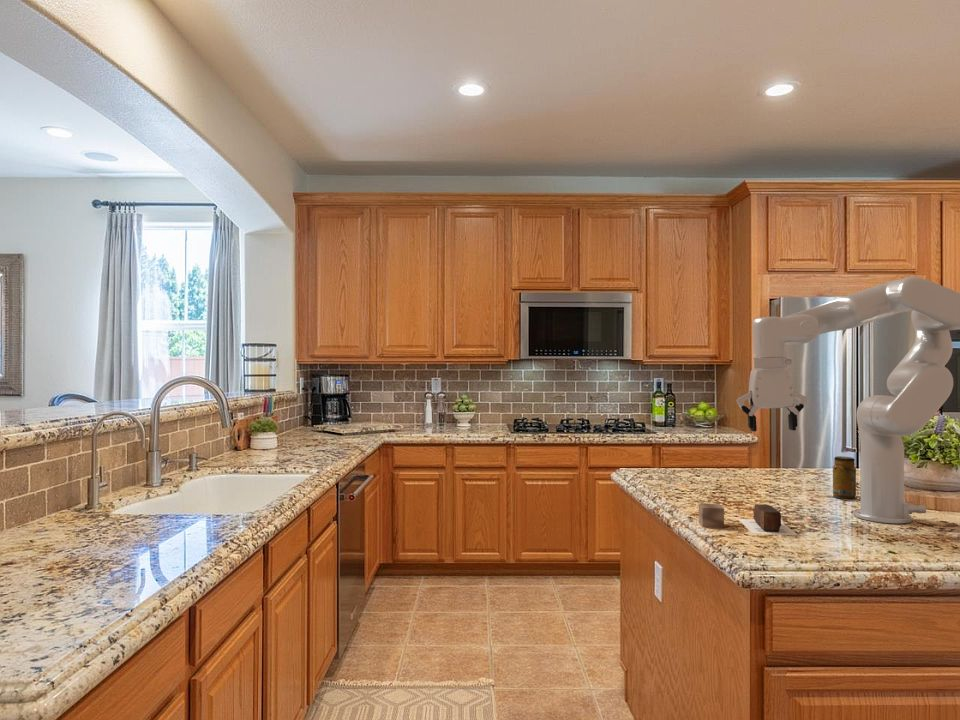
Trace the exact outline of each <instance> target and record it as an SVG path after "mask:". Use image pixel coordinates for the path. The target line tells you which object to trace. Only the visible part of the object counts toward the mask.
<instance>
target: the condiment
mask: <svg viewBox="0 0 960 720" xmlns="http://www.w3.org/2000/svg"><path fill="white" fill-rule="evenodd" d="M833 460H834V462H833V463H834V465H833V466H832V494H826V496H827V497H829V498H835V499H838V500H839V499H840V498H841V499H840V500H844V501H849V502H852V501H854V502H857V501H858V502H859V500H860V501H861V497H858V496H857V467H856V466H855V464H856V463H855V460H856V459H855V458H854V457H851V456H840V455H838V456H834V459H833ZM832 495H833V496H832ZM856 497H857V498H859V499H856Z"/></svg>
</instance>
